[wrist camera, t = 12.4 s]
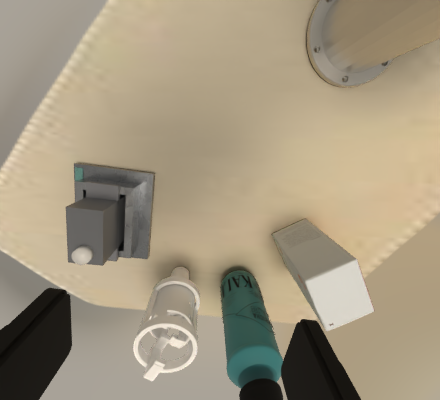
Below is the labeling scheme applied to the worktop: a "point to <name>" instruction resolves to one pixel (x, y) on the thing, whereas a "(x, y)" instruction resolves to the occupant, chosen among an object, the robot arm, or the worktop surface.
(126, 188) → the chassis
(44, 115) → the worktop surface
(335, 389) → the robot arm
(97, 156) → the worktop surface
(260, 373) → the beverage bottle
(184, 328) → the clear white hollow cylinder
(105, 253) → the lever
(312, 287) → the small box
